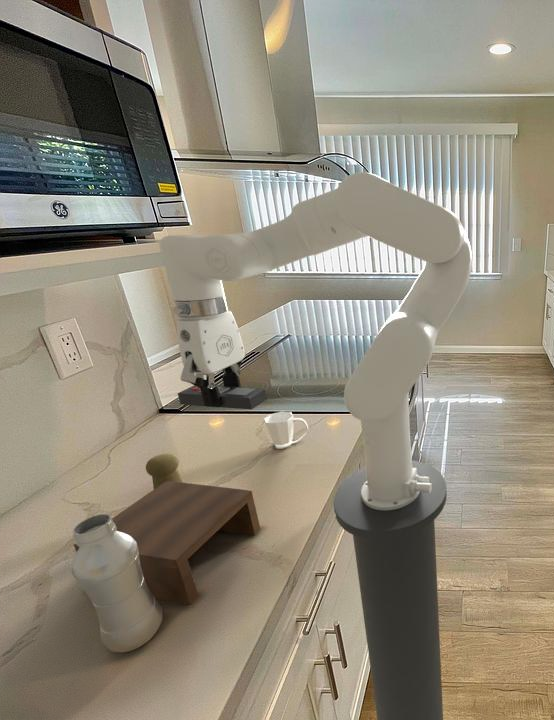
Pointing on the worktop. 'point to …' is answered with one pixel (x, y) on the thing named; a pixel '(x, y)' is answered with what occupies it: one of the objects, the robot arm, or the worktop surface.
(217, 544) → the worktop surface
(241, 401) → the remote
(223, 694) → the worktop surface
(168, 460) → the cork
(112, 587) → the plastic bottle
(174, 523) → the shelf
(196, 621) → the worktop surface
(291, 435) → the cup
